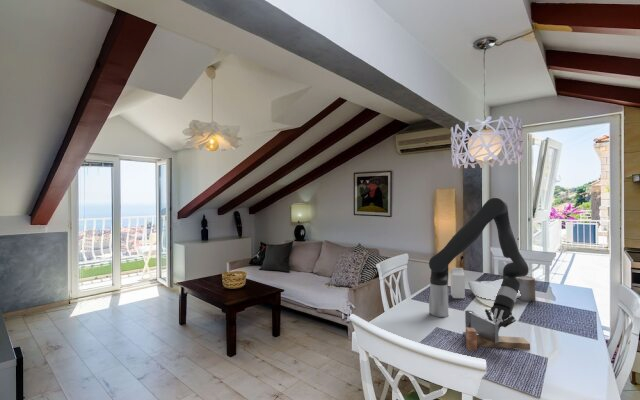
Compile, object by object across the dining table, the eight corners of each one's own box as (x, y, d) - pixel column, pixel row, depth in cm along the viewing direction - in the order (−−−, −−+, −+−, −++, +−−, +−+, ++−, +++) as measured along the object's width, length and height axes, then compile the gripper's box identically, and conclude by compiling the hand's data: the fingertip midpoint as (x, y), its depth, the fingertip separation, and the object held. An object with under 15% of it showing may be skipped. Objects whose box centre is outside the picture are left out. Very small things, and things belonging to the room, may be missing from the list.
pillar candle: (532, 297, 201) (531, 274, 201) (537, 302, 192) (536, 277, 192) (515, 296, 204) (514, 273, 204) (519, 301, 195) (518, 276, 195)
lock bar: (463, 332, 149) (463, 310, 149) (470, 331, 150) (469, 310, 150) (493, 349, 132) (493, 324, 132) (500, 347, 133) (499, 323, 133)
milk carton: (465, 298, 200) (464, 269, 200) (453, 298, 202) (452, 268, 202) (462, 295, 207) (461, 266, 207) (450, 295, 209) (450, 266, 209)
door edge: (468, 350, 133) (468, 331, 133) (457, 331, 151) (457, 315, 151) (535, 354, 128) (535, 335, 128) (515, 335, 147) (515, 318, 147)
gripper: (487, 291, 147) (475, 323, 140) (518, 297, 136) (506, 333, 129) (493, 300, 150) (481, 332, 143) (524, 307, 140) (513, 342, 132)
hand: (493, 332), depth 136 cm, fingers closed
